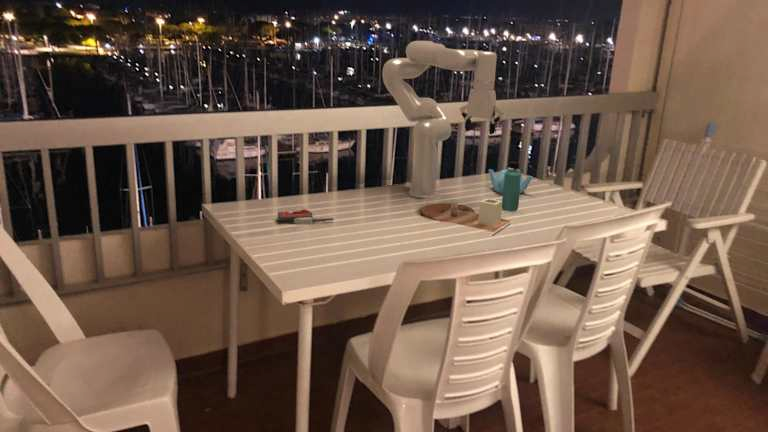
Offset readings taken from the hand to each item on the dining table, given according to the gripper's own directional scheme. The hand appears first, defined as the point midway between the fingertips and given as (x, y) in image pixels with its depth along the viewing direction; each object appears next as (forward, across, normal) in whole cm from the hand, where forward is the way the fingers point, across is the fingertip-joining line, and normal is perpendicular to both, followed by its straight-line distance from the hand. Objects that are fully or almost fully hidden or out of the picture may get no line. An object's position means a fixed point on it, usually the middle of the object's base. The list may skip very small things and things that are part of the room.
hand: (479, 132), depth 228 cm
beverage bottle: (+31, +13, +5) cm, 34 cm away
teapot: (+31, +1, +35) cm, 47 cm away
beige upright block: (+29, +14, -17) cm, 36 cm away
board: (+30, +7, -17) cm, 35 cm away
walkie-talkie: (+31, -41, -53) cm, 74 cm away
